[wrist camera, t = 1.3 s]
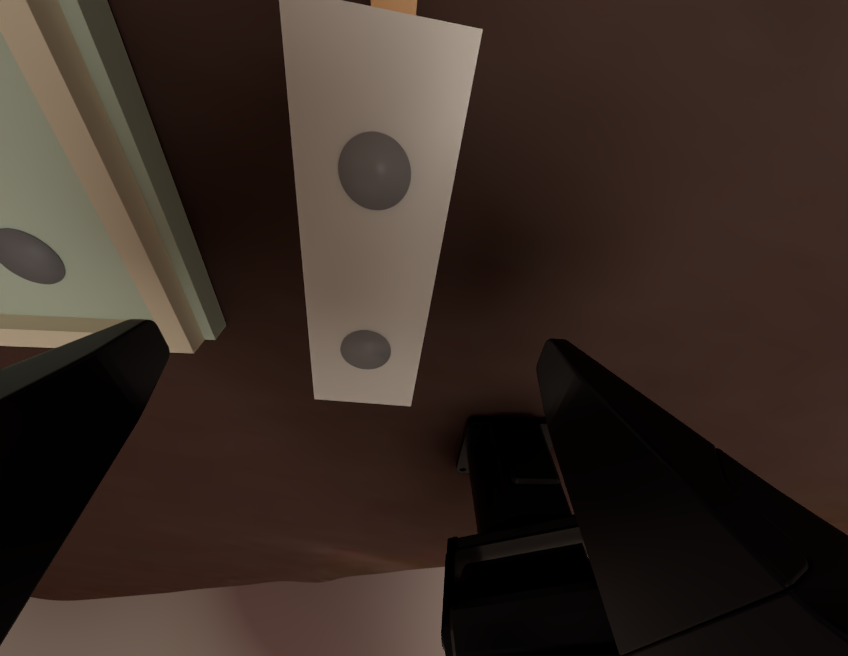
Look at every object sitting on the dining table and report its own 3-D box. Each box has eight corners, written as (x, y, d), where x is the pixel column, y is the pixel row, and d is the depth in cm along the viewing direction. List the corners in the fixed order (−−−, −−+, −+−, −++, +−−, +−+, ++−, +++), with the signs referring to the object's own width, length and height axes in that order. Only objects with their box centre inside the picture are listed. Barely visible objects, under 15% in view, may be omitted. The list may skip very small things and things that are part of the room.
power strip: (411, 332, 18) (410, 408, 14) (337, 325, 17) (313, 401, 13) (461, 16, 10) (493, -22, 6) (329, -12, 10) (270, -72, 6)
